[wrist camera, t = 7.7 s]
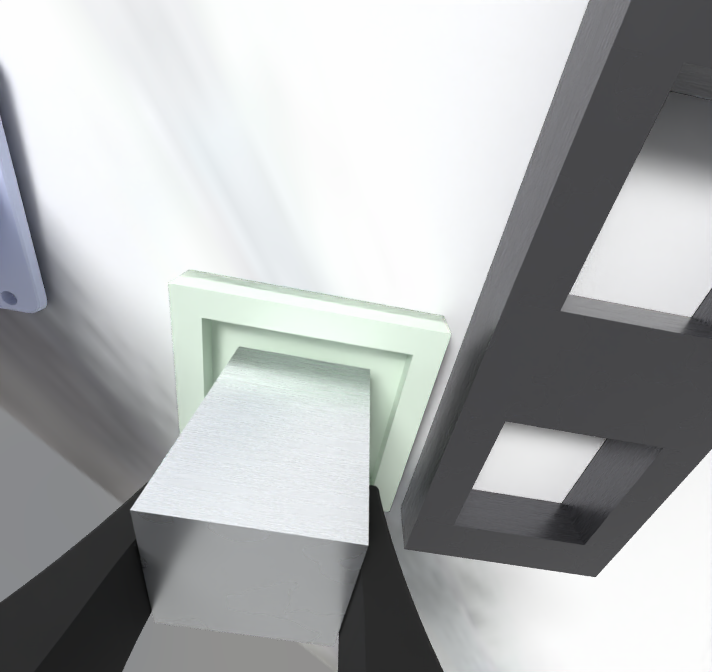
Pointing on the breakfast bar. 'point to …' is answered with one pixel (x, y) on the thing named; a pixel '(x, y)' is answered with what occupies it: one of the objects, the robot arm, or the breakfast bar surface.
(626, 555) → the breakfast bar surface
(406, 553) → the breakfast bar surface
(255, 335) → the parts tray
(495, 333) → the dark grey rectangular frame
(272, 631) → the grey rectangular block
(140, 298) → the breakfast bar surface
